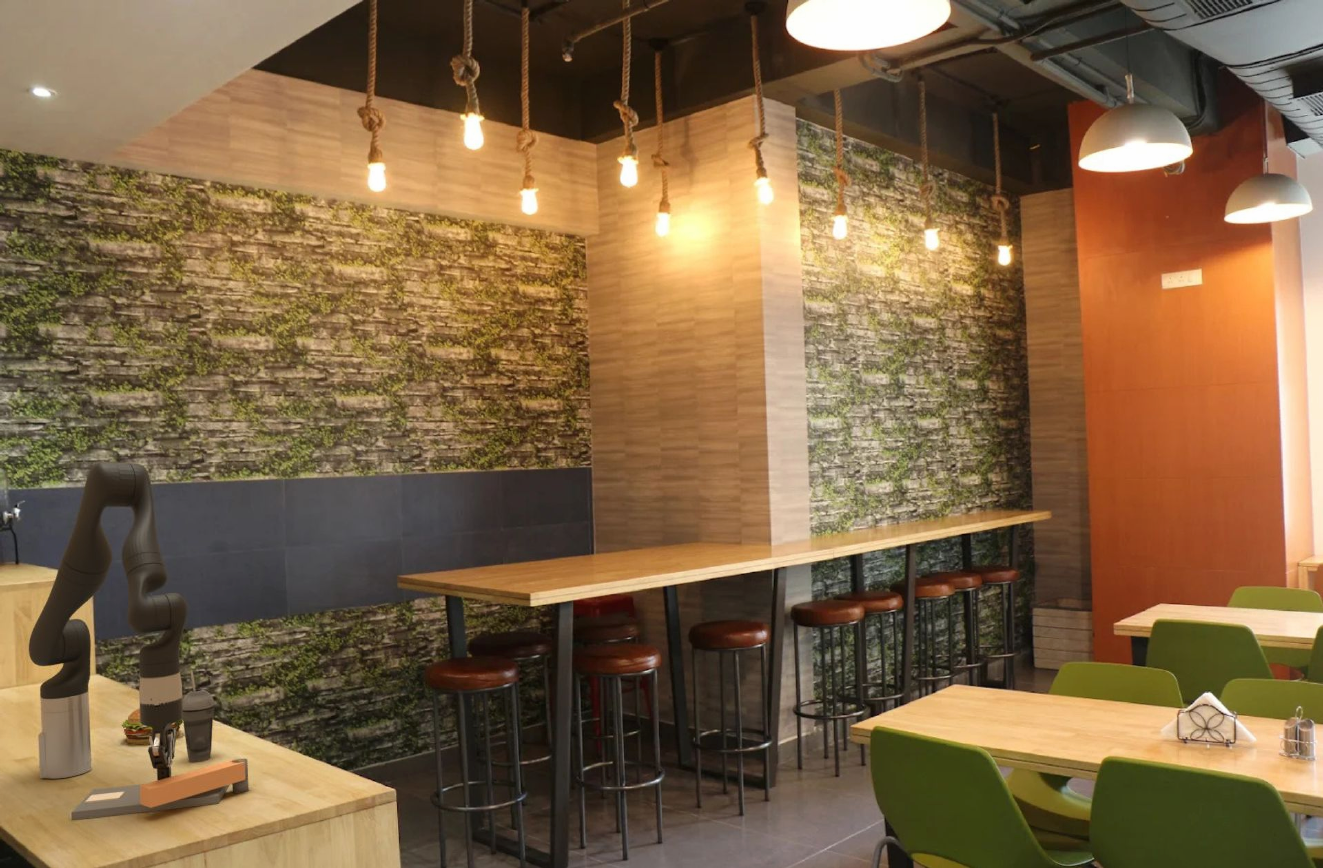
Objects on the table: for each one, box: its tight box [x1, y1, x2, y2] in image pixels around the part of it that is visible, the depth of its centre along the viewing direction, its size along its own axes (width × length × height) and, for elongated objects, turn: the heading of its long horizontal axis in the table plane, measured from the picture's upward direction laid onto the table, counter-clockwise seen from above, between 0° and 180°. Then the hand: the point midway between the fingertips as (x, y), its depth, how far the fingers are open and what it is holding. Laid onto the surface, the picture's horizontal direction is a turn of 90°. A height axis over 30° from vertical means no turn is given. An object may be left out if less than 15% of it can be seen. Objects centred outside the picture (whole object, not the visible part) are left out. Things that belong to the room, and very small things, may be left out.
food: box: [121, 707, 183, 745], centre depth 257 cm, size 14×14×8 cm
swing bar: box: [140, 758, 249, 808], centre depth 205 cm, size 20×4×4 cm, turn 142°
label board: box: [70, 777, 250, 821], centre depth 209 cm, size 30×14×2 cm, turn 103°
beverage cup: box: [182, 669, 216, 763], centre depth 237 cm, size 7×7×20 cm
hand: (164, 786), depth 204 cm, fingers closed
